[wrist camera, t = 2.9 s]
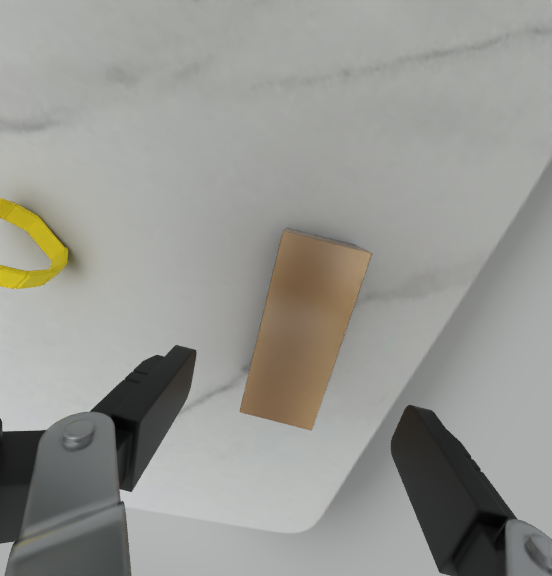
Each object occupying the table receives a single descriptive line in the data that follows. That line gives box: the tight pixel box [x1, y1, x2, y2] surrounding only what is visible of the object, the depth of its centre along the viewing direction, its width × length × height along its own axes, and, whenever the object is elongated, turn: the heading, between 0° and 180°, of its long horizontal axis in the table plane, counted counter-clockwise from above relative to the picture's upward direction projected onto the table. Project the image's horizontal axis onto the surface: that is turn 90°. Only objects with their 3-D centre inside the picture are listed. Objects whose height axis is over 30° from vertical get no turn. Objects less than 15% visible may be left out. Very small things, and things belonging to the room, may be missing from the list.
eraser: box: [240, 228, 372, 430], centre depth 16 cm, size 4×11×4 cm, turn 166°
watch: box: [0, 198, 68, 289], centre depth 15 cm, size 6×3×6 cm, turn 38°
